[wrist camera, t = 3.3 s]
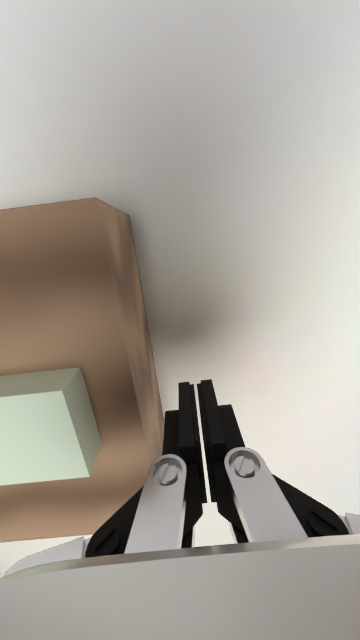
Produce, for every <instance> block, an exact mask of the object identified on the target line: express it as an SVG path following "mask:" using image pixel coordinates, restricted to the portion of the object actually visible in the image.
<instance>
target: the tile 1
mask: <svg viewBox="0 0 360 640" xmlns="http://www.w3.org/2000/svg"><path fill="white" fill-rule="evenodd" d="M101 445H102V442H101V439H100V435H99V432H98V428H97V424H96V421H95V417H94V414H93V410H92V407H91V403H90V400H89V396H88V392H87V389H86V385H85V382H84V378H83V375H82V371H81V367H77V368H68V369H59V370H50V371H41V372H31V373H22V374H13V375H4V376H0V485H11V484H21V483H32V482H42V481H53V480H63V479H73V478H84V477H90V475H91V472H92V469H93V467H94V464H95V461H96V459H97V456H98V453H99V451H100V448H101Z"/></svg>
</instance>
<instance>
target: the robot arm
mask: <svg viewBox="0 0 360 640" xmlns="http://www.w3.org/2000/svg"><path fill="white" fill-rule="evenodd" d="M197 388H198V397H199V406H200V415H201V424H202V433H203V441H204V448H205V456H206V464H207V471H208V479H209V487H210V495H211V502H217V507H218V512H219V513H220V514H221V515H222V516H223V517H224V518H226V519H227V520H228V521H229V525H230V529H231V533H232V536H233V539H234V542H235V544H226V545H215V546H204V547H194V542H195V524H196V522H197V521H198V520H199V518H200V517H201V516H202V513H203V509H202V503H207V497H206V488H205V479H204V470H203V461H202V452H201V444H200V435H199V426H198V417H197V409H196V400H195V392H194V384H191V385H190V384H189V382H183V383H179V410H173V411H166V412H165V423H164V437H163V451H162V456H160V457H158V458H157V459H156V460H154V462H153V463H152V464H151V465H150V467H149V470H148V473H147V476H146V480H145V483H144V486H143V487H142V488H141V489H140V490H139V491H137V492H136V493H135V494H134V495H133V496H132V497H131V498H130V499H129V500H128V501H127V502H126V503H125V504H124V505H123V506H122V507H121V508H120V509H119V510H118V511H116V512H115V513H114V514H113V515H112V516H111V517H110V518H109V519H108V520H107V521H106V522H105V523H104V524H103V525H102V526H101V527H100V528H99V529H98V530H97V531H96V532H95V533H94V534H93V536H92V537H91V538H88V539H84V536H83V537H80V538H78V539H75V540H72V541H69V542H66V543H64V544H61V545H58V546H55V547H52V548H49V549H47V550H44V551H41V552H38V553H35V554H33V555H30V556H27V557H25V558H23V559H21V560H19V561H17V562H16V563H15V564H14V565H13V566H12V567H11V568H9V569H8V571H7V572H6V573H5V575H4V576H3V577H2V578H1V579H0V640H360V515H357V514H351V513H345V516H340V515H337V514H336V513H335V512H333V511H332V510H331V509H329V508H328V507H326V506H324V505H323V504H321V503H320V502H318V501H316V500H315V499H313V498H311V497H310V496H308V495H306V494H305V493H303V492H301V491H300V490H298V489H296V488H295V487H293V486H291V485H290V484H288V483H286V482H285V481H283V480H281V479H280V478H278V477H276V476H275V475H273V474H271V472H270V470H269V469H268V467H267V465H266V463H265V462H264V460H263V458H262V457H261V456H260V454H258V453H257V452H256V451H254V450H252V449H250V448H245V445H244V442H243V439H242V436H241V433H240V430H239V427H238V424H237V421H236V418H235V415H234V411H233V408H232V406H231V404H230V405H220V406H218V404H217V400H216V396H215V392H214V388H213V384H212V380H211V379H210V380H201V383H200V384H197Z"/></svg>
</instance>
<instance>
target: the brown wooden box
mask: <svg viewBox="0 0 360 640" xmlns="http://www.w3.org/2000/svg"><path fill="white" fill-rule="evenodd" d="M77 367H81V371H82V375H83V378H84V382H85V385H86V389H87V392H88V396H89V400H90V403H91V407H92V410H93V414H94V417H95V421H96V424H97V428H98V432H99V435H100V439H101V442H102V445H101V448H100V451H99V453H98V456H97V459H96V461H95V464H94V467H93V469H92V472H91V475H90V477H84V478H73V479H63V480H53V481H42V482H32V483H21V484H11V485H0V542H11V541H23V540H34V539H45V538H56V537H68V536H79V535H90V534H94V533H95V532H96V531H97V530H98V529H99V528H100V527H101V526H102V525H103V524H104V523H105V522H106V521H107V520H108V519H109V518H110V517H111V516H112V515H113V514H114V513H115V512H116V511H118V510H119V509H120V508H121V507H122V506H123V505H124V504H125V503H126V502H127V501H128V500H129V499H130V498H131V497H132V496H133V495H134V494H135V493H136V492H137V491H139V490H140V489H141V488H142V487H143V486H144V483H145V480H146V476H147V473H148V470H149V467H150V465H151V464H152V463H153V462H154V460H156V459H157V458H158V457H160V456H162V451H163V437H164V419H163V413H162V407H161V401H160V396H159V390H158V384H157V378H156V372H155V366H154V360H153V354H152V348H151V342H150V337H149V331H148V325H147V319H146V313H145V307H144V301H143V295H142V289H141V283H140V278H139V272H138V266H137V260H136V254H135V248H134V242H133V236H132V230H131V224H130V219H129V215H127V214H125V213H123V212H121V211H120V210H118V209H116V208H114V207H112V206H110V205H108V204H106V203H105V202H103V201H101V200H99V199H97V198H88V199H80V200H72V201H64V202H57V203H49V204H41V205H34V206H26V207H18V208H10V209H3V210H0V376H4V375H13V374H22V373H31V372H41V371H50V370H59V369H68V368H77Z"/></svg>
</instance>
